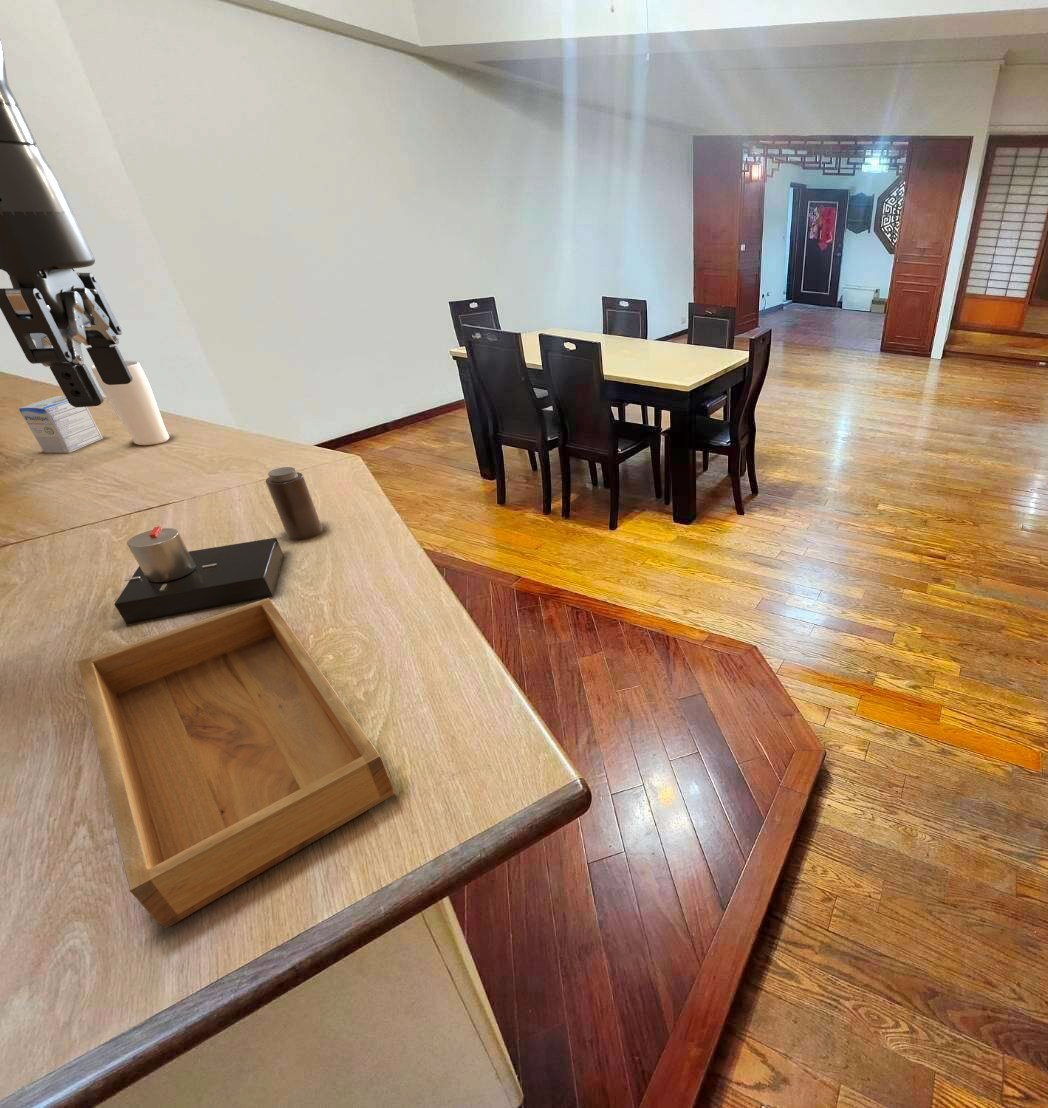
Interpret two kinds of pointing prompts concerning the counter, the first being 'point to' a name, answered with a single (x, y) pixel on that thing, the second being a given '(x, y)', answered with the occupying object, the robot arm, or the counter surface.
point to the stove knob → (161, 554)
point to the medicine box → (60, 425)
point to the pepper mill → (293, 503)
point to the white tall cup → (136, 406)
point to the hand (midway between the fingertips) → (105, 394)
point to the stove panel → (206, 582)
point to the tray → (222, 755)
